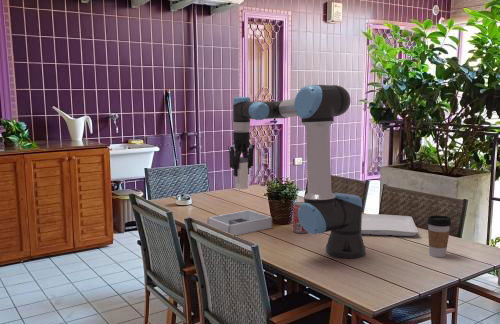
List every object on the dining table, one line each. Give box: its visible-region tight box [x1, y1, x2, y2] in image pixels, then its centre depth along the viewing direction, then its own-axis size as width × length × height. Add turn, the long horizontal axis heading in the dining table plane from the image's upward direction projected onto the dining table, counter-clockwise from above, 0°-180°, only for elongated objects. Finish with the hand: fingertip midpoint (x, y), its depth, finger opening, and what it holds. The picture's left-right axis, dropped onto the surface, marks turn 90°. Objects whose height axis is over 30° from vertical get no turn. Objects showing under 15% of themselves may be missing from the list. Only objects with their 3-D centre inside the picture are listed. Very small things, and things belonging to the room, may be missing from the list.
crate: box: [206, 209, 273, 236], centre depth 226 cm, size 18×24×5 cm
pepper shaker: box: [234, 156, 249, 190], centre depth 221 cm, size 4×4×14 cm
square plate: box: [361, 213, 419, 237], centre depth 223 cm, size 27×27×4 cm
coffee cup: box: [427, 215, 452, 258], centre depth 186 cm, size 8×8×15 cm
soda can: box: [292, 201, 308, 234], centre depth 218 cm, size 7×7×13 cm
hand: (241, 182), depth 222 cm, fingers closed on pepper shaker, 4 cm apart
